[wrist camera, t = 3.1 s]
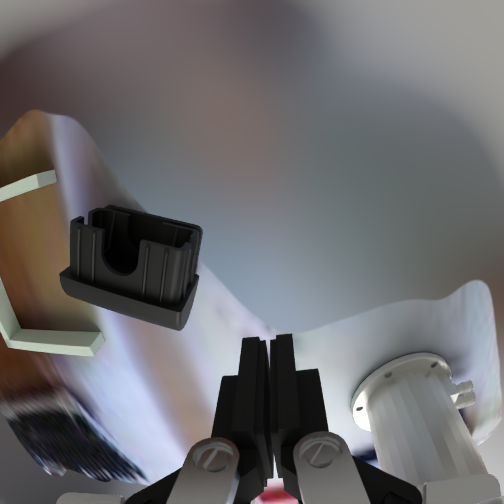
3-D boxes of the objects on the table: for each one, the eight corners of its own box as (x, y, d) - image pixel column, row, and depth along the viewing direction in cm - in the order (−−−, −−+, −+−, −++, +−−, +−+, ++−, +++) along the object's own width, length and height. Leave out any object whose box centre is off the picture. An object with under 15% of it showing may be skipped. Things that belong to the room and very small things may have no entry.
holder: (54, 169, 24) (36, 173, 21) (105, 341, 30) (94, 356, 27) (-26, 201, 25) (-42, 207, 23) (19, 336, 31) (8, 347, 29)
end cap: (97, 274, 27) (60, 308, 21) (101, 202, 25) (57, 223, 18) (196, 302, 28) (176, 347, 21) (210, 227, 25) (189, 258, 19)
